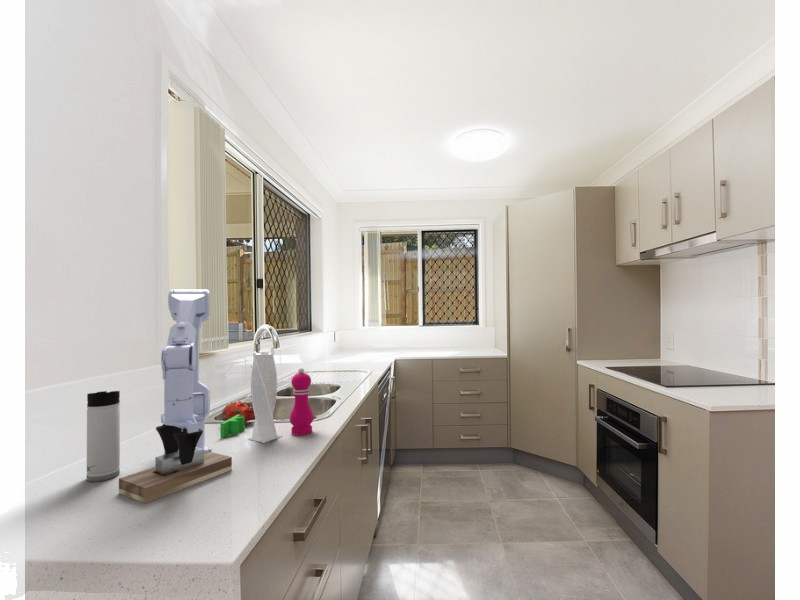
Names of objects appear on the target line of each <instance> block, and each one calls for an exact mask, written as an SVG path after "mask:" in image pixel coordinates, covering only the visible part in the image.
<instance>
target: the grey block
mask: <svg viewBox="0 0 800 600" xmlns="http://www.w3.org/2000/svg"><path fill="white" fill-rule="evenodd" d="M201 463H204V449H202V448H199V447H196V449H195V452H194V456H193V460H192V462H191V463H188V464H184V465H182V464H181V462H180V457H179V451H178V452H174V453H170V454H162V455H159V456H155V467H156V472H158V473H159V475H162V476H167V475H170V474H173V471H177V470H180V469H184V468H187V467H193V466H196V465H199V464H201Z"/></svg>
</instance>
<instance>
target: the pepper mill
mask: <svg viewBox="0 0 800 600" xmlns="http://www.w3.org/2000/svg"><path fill="white" fill-rule="evenodd" d="M297 371H298V373H296V374H294V375H293V376H292V377H291V382H290V383H291V386H292V388H293V392H292V393H293V395H294V404H293V407H292V410H291V412H290V414H289V415H290V416H289V422H290V424H291V435H292V436H307V435H309V434H312V433H313V426H312V425H311V424H312V423H313V421H314V412H313V410H312V408H311V406H310V403H309V394H310V386H311V384H312V378H311V376H310V375H309V374H308V373H305V370H304V368H303V367H300V368H298V370H297Z"/></svg>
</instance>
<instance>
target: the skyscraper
mask: <svg viewBox="0 0 800 600" xmlns="http://www.w3.org/2000/svg"><path fill="white" fill-rule="evenodd" d="M274 355H275V347H274V346H273V345H271V347H270V350H259V351H258V352H257V351H253V352H252V356H253V362H252V367H251V376H250V396H251V403H252V408H253V410H254V414H255V420H254V424H253V430H252V435H251V438H248V439H247V441H251V442H255V441H256V442H255V443H260V442H261V444H266V443H268V441H269V442H271V440H272V441H274V439H275V440H278V439H281V438H283V436H281V435H278V433H277V429H276V425H275V421H274V417H273V415H274V410H275V407H276V400H277V394H278V374H277V367H276V362H275V357H274ZM280 437H281V438H280ZM265 442H266V443H265Z"/></svg>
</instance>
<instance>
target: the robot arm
mask: <svg viewBox="0 0 800 600" xmlns="http://www.w3.org/2000/svg"><path fill="white" fill-rule="evenodd" d="M167 298H168V299H167V304H168V305H167V306H168V310H169V312H170V316H171V318H172V321H174V322H175V324H173V325H171V327H170V329H169V334H168V337H167V344H166V348H163V347H162V350H161V354H160V355H161V356H160V366H161V371H162V380H164V382H163V384H164V387H163V388H164V392H163V393H164V394H163V396H164V397H163V398H164V399H163V400H164V402H163V403H164V404H163V407H164V409H163V410H164V413H162V414H161V415H160V422H161V424H162V425H159V426H156V427H155V431H156V432H157V433H158V435H159V437H160V439H161V441H162V446H163V449H164V451H163V453H164V455H166V454H170V453H174V452H178V451H179V457H180V462H181V464H182V465H184V464H188V463H191V462H192V460H193V456H194V452H195V449H196V447H199V448H202V449H204V451H209V452H211V451H212V449H213V448H212V447H209V446H205V435H206V434H205V418H206V417H208V416H209V414H210V411H211V395H210V389H209V387H208V386H207V385H206V384H204V383H203V382H201V381H200V380H199V379H200V336H201V335H200V334H201V332H200V331H201V327H202V325H203V323H204V322H206V321H208V320H209V316H210V308H211V307H210V305H211V303H210V302H211V296H210V290H208V289H206V288H205V289H174V288H171V289H170V290H169V291H168V296H167Z"/></svg>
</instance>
